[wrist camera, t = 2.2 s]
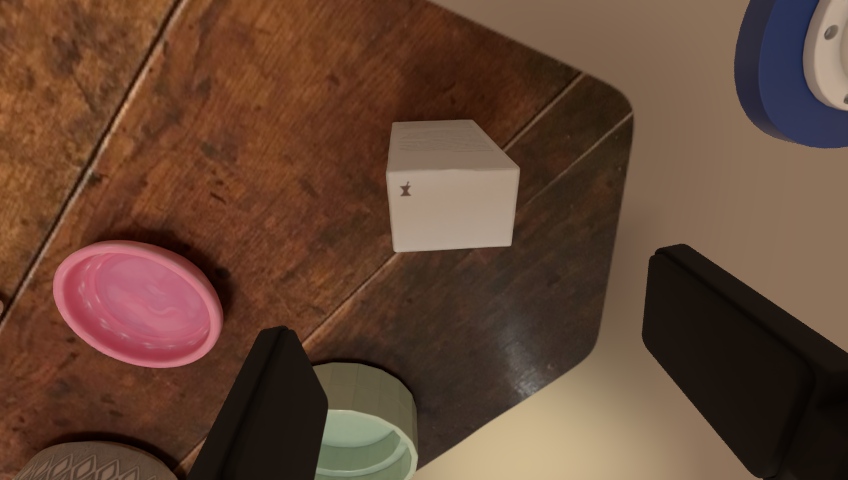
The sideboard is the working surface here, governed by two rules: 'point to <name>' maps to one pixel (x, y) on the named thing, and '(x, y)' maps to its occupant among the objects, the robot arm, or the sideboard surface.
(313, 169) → the sideboard surface
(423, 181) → the cosmetic box
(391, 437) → the bowl
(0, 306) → the bust
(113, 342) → the saucer
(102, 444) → the planter
